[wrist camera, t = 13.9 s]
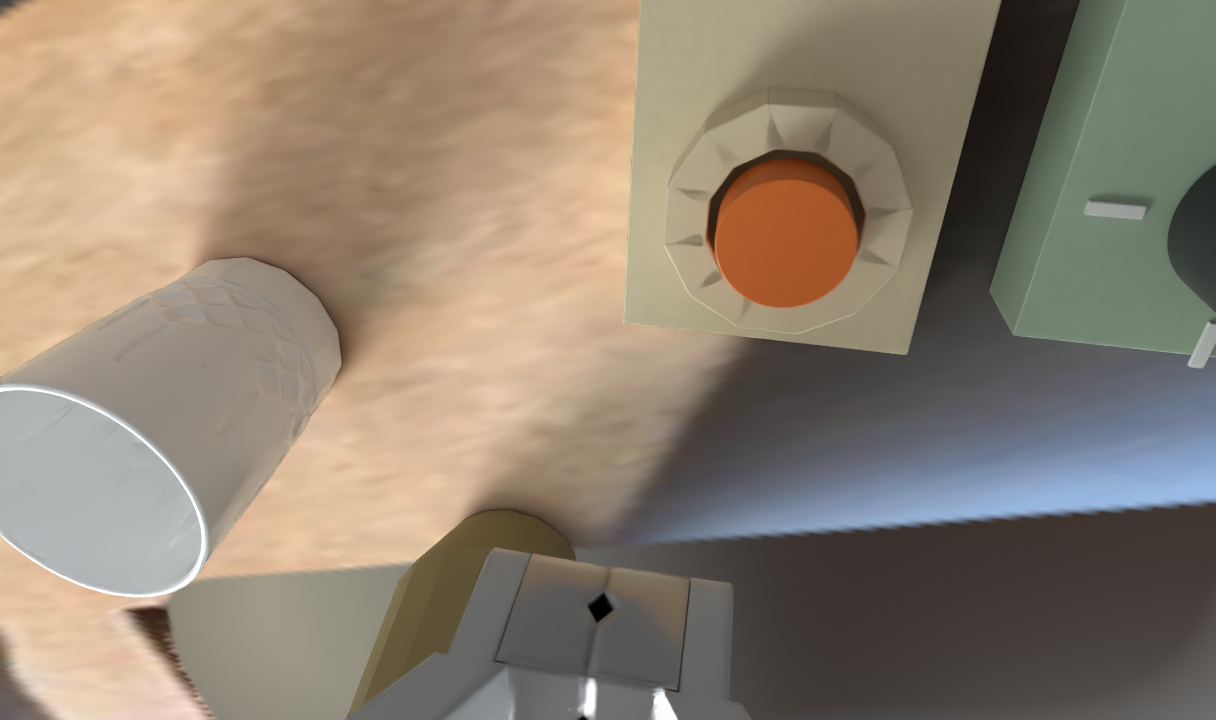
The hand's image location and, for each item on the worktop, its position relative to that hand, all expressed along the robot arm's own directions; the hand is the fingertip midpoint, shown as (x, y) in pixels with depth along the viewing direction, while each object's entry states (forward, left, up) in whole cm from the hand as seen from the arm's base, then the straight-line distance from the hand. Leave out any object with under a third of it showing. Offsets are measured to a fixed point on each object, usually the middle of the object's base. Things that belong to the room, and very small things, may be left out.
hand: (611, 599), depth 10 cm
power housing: (-1, +2, -18) cm, 18 cm away
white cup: (+8, -17, -18) cm, 26 cm away
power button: (0, +2, -14) cm, 15 cm away
